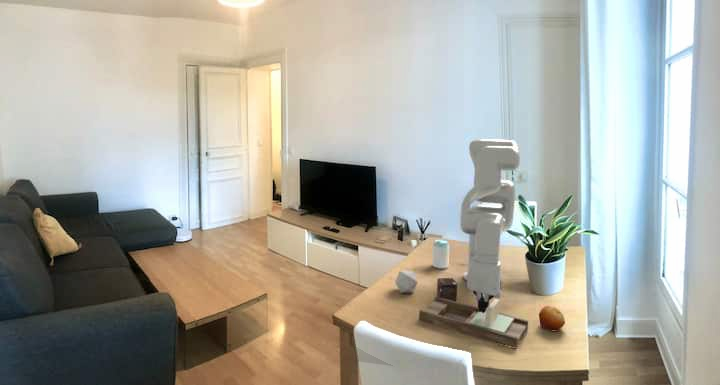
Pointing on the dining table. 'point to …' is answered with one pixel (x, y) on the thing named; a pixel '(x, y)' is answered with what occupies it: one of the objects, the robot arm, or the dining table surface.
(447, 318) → the brown wooden tray
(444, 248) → the can
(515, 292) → the dining table surface
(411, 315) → the dining table surface
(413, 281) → the die
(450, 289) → the box
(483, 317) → the lid
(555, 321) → the fruit
